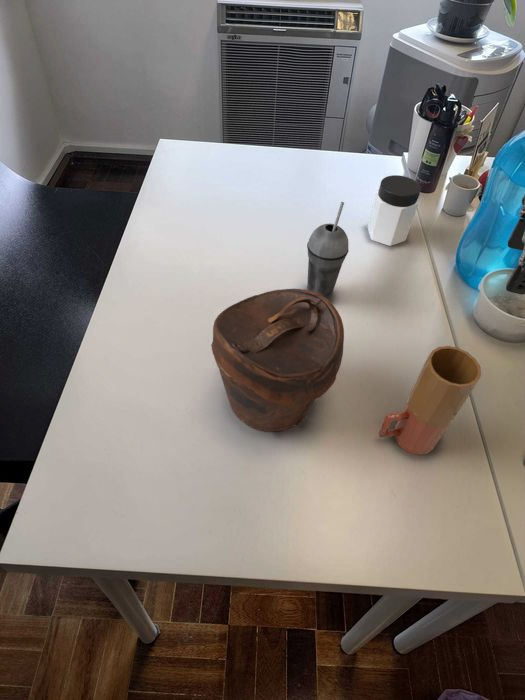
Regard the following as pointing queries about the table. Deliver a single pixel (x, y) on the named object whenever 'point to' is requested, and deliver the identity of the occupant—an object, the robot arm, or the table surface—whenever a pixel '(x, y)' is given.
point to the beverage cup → (326, 256)
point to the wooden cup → (443, 385)
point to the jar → (393, 210)
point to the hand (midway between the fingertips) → (515, 268)
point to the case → (277, 355)
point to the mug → (412, 432)
